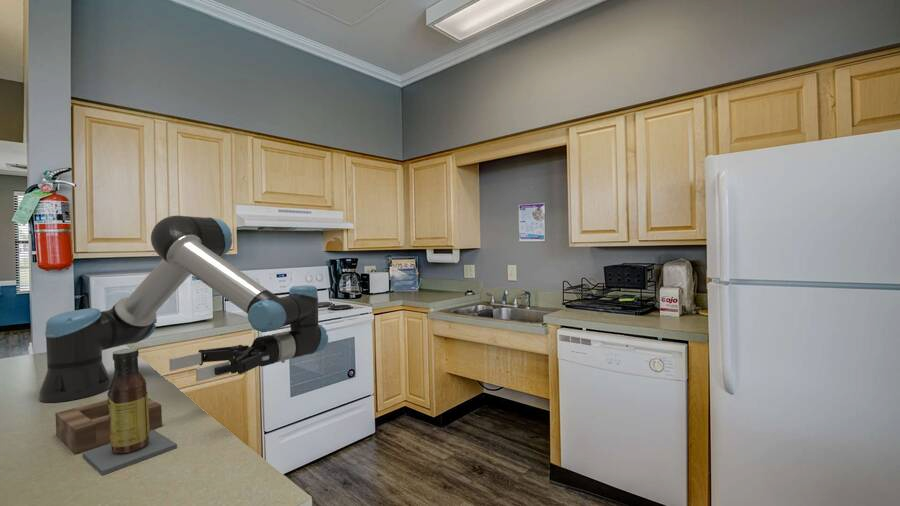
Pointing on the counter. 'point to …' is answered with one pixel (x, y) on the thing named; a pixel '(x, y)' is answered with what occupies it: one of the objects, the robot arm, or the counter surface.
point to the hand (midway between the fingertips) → (182, 369)
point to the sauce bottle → (128, 404)
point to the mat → (127, 454)
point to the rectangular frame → (94, 425)
